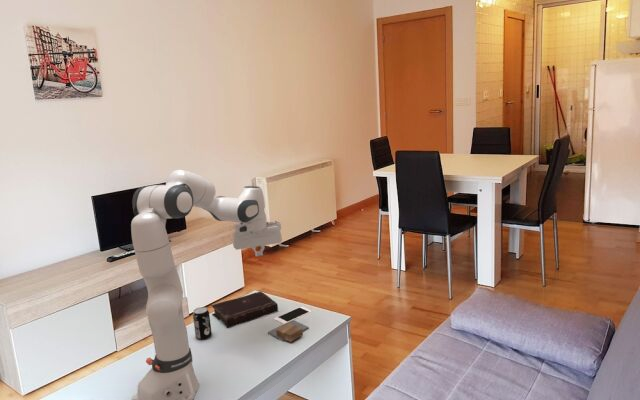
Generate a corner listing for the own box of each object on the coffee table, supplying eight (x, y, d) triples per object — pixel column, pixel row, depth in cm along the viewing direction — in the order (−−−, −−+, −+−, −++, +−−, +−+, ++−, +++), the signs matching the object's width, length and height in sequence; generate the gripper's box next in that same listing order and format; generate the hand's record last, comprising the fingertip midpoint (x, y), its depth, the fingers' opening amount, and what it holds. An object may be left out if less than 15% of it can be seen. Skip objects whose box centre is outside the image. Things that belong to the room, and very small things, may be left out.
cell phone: (273, 319, 226) (273, 318, 226) (301, 307, 236) (301, 306, 236) (284, 325, 220) (284, 323, 220) (312, 312, 230) (312, 310, 230)
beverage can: (213, 332, 217) (210, 306, 214) (209, 340, 211) (205, 313, 208) (198, 332, 218) (195, 306, 215) (193, 340, 211) (190, 313, 209)
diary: (278, 313, 233) (277, 302, 232) (227, 330, 220) (226, 319, 219) (260, 299, 248) (259, 289, 247) (211, 314, 235) (210, 304, 234)
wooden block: (302, 328, 207) (288, 322, 213) (290, 335, 202) (275, 329, 208) (302, 334, 208) (288, 329, 213) (290, 342, 203) (276, 336, 208)
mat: (282, 341, 206) (282, 339, 205) (267, 333, 213) (267, 331, 213) (308, 328, 215) (308, 326, 214) (293, 321, 222) (293, 319, 222)
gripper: (278, 218, 217) (281, 249, 221) (230, 225, 211) (234, 257, 215) (282, 222, 211) (284, 253, 215) (232, 229, 206) (236, 262, 209)
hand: (259, 255), depth 215 cm, fingers closed
